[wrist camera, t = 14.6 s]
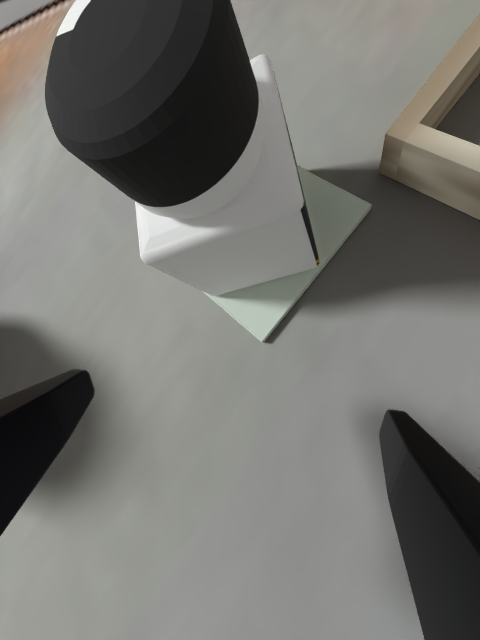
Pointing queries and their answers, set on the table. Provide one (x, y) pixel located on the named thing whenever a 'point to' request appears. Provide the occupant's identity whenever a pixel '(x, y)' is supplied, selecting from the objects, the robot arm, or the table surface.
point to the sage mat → (281, 294)
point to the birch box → (438, 134)
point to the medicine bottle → (184, 137)
